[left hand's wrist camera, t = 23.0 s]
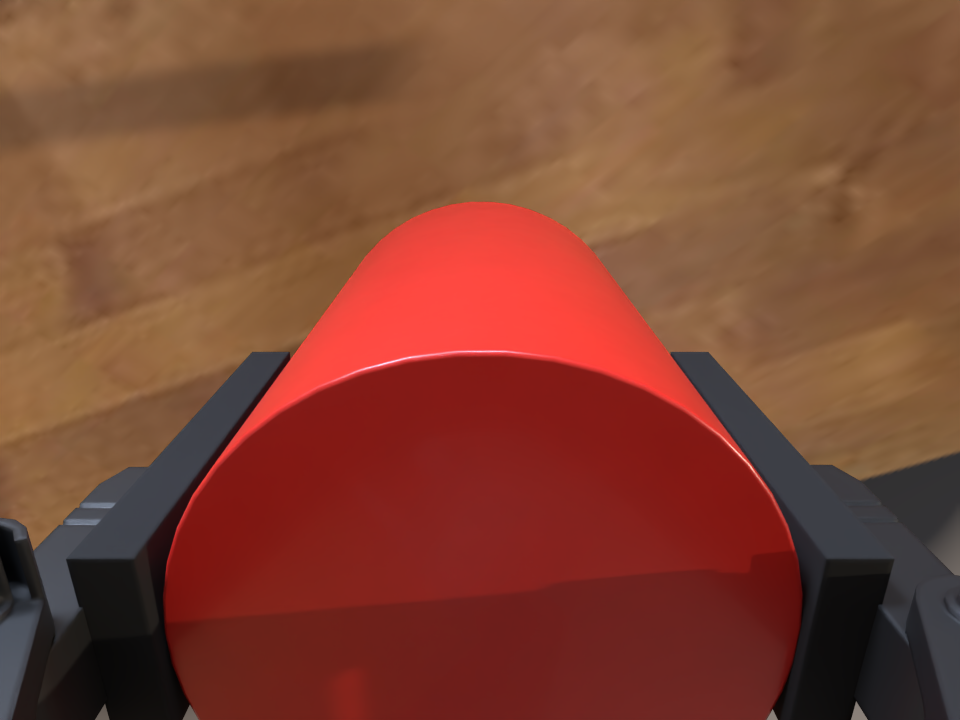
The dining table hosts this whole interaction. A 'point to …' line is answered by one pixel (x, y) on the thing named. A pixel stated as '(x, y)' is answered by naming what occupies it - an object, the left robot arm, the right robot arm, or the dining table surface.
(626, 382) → the cylinder
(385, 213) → the dining table surface
